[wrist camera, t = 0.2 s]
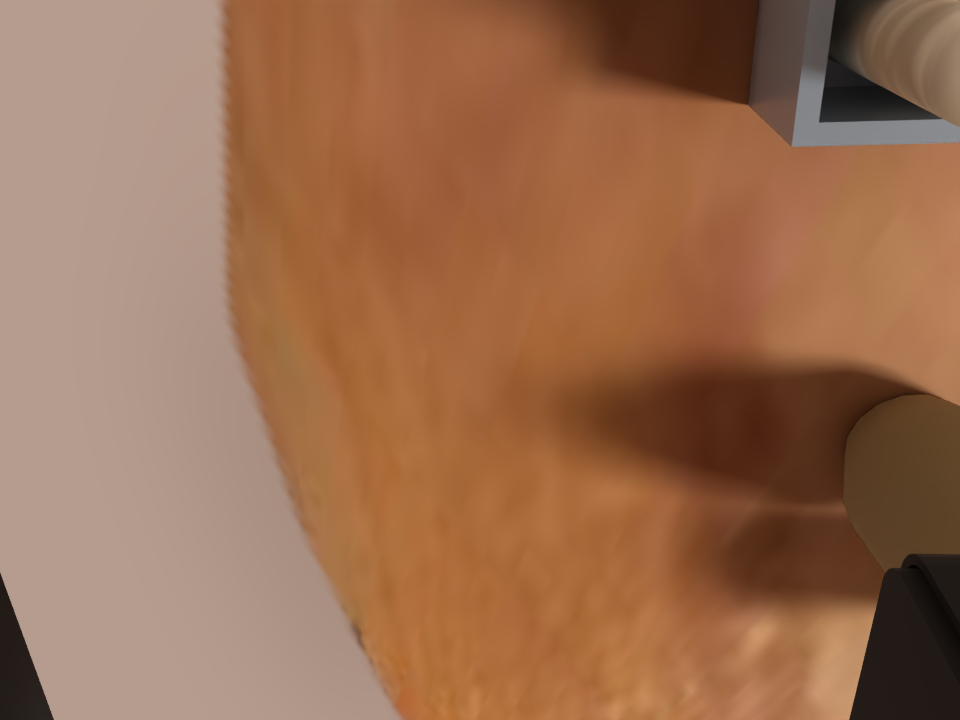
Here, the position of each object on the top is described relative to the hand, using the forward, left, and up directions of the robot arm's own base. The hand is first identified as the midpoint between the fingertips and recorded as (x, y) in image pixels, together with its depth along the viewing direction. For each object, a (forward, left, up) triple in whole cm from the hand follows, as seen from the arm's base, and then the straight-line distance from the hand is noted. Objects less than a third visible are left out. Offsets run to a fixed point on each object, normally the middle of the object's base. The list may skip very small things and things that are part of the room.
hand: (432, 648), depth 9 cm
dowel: (-3, +13, -30) cm, 33 cm away
